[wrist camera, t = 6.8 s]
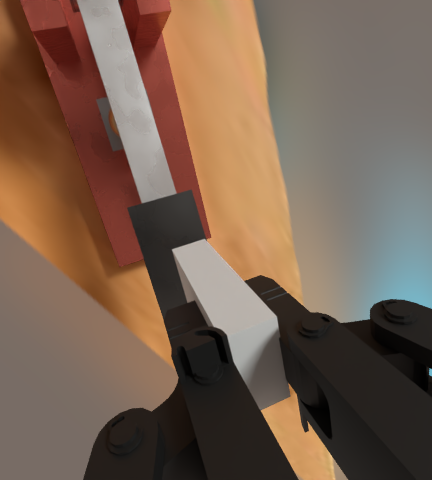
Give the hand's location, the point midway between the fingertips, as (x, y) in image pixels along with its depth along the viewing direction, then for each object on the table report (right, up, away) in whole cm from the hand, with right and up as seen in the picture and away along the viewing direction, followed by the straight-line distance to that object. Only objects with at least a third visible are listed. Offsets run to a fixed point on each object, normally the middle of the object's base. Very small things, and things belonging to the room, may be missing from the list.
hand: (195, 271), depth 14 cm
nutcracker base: (-8, +12, +16) cm, 22 cm away
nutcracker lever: (-4, +8, +9) cm, 12 cm away
